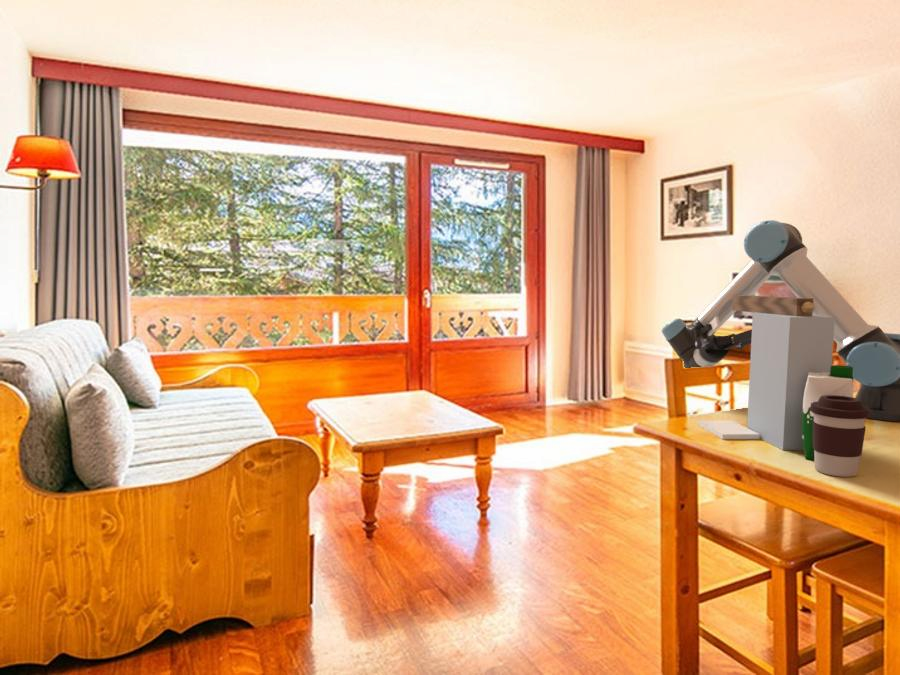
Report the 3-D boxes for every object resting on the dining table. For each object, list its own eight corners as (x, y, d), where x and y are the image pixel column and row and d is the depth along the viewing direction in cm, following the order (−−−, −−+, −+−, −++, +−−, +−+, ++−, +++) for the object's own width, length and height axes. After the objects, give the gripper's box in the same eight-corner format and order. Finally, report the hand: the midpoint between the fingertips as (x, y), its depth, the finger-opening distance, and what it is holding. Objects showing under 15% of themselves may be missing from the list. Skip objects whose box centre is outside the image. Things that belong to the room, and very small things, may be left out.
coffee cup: (808, 475, 120) (812, 400, 119) (805, 461, 129) (809, 391, 127) (868, 483, 115) (874, 405, 114) (862, 468, 124) (867, 396, 123)
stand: (826, 449, 138) (834, 317, 135) (782, 450, 137) (790, 317, 134) (786, 431, 153) (792, 312, 150) (746, 432, 153) (752, 312, 150)
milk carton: (850, 466, 126) (856, 370, 124) (799, 459, 130) (805, 367, 128) (847, 455, 133) (853, 364, 131) (799, 449, 138) (805, 361, 136)
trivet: (759, 439, 147) (759, 434, 147) (722, 439, 146) (722, 434, 146) (731, 424, 161) (731, 420, 160) (697, 425, 160) (697, 420, 160)
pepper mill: (819, 316, 136) (820, 298, 135) (803, 316, 135) (804, 298, 135) (746, 310, 161) (747, 295, 161) (732, 310, 161) (733, 295, 160)
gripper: (754, 363, 183) (791, 333, 164) (672, 363, 182) (699, 333, 163) (749, 340, 186) (785, 308, 167) (668, 340, 186) (694, 308, 166)
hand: (743, 320), depth 165 cm, fingers open, 13 cm apart
